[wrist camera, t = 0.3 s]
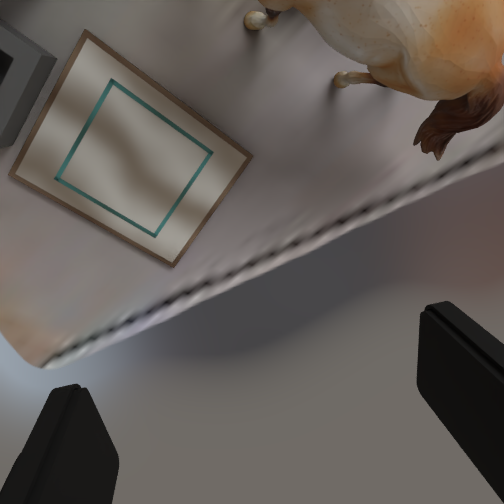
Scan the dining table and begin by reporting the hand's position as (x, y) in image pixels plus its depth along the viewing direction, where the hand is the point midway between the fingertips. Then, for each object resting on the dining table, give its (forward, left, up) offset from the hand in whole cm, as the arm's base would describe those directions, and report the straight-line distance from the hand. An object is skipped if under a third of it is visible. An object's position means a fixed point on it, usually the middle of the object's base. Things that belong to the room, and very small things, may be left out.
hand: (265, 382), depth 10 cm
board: (+4, -7, -30) cm, 31 cm away
